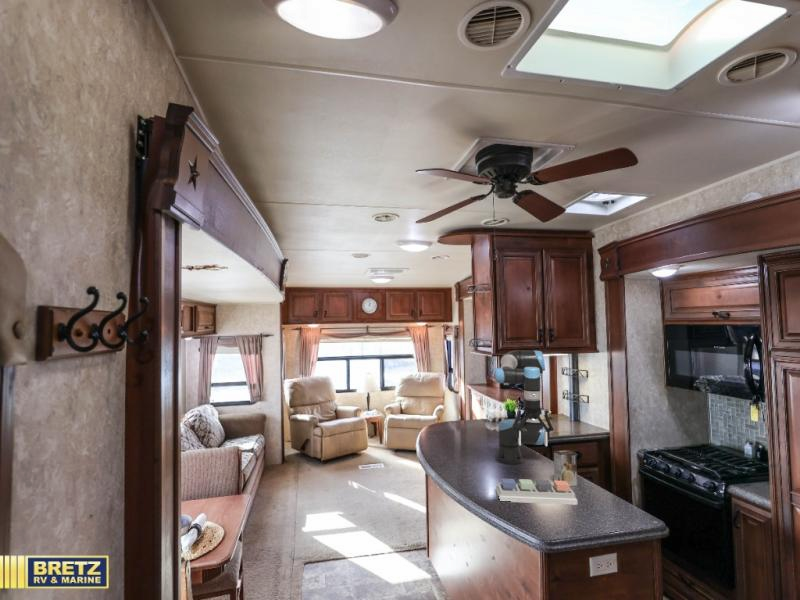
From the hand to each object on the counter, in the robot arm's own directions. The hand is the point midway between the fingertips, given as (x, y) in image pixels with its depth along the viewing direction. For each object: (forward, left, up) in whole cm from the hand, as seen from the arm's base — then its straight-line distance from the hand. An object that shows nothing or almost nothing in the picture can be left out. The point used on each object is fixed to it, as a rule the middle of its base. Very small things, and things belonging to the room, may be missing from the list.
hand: (532, 445), depth 206 cm
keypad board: (+6, 0, -22) cm, 23 cm away
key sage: (+6, -4, -18) cm, 19 cm away
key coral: (+6, +12, -18) cm, 22 cm away
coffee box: (-12, +19, -22) cm, 32 cm away
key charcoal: (+6, +4, -18) cm, 19 cm away
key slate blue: (+6, -12, -18) cm, 22 cm away
